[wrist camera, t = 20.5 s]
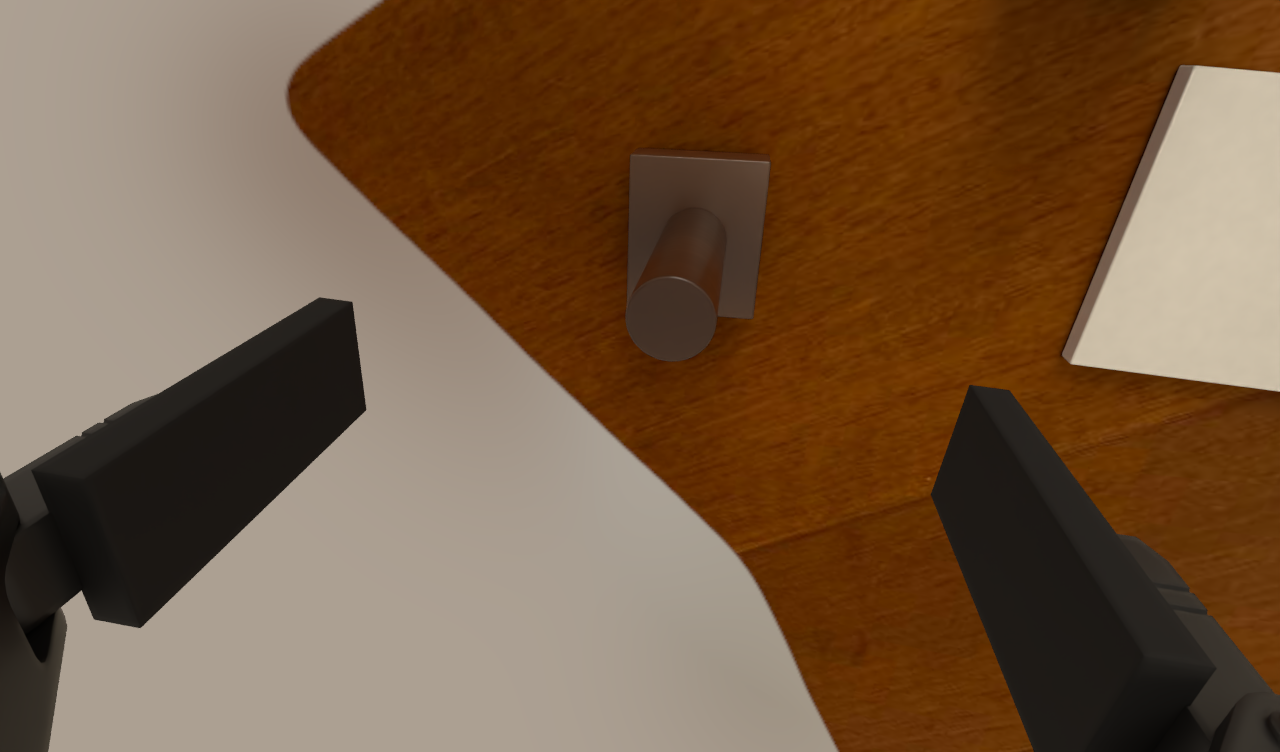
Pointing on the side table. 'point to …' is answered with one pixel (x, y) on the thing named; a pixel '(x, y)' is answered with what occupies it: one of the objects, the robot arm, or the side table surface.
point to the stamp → (692, 245)
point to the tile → (1196, 242)
